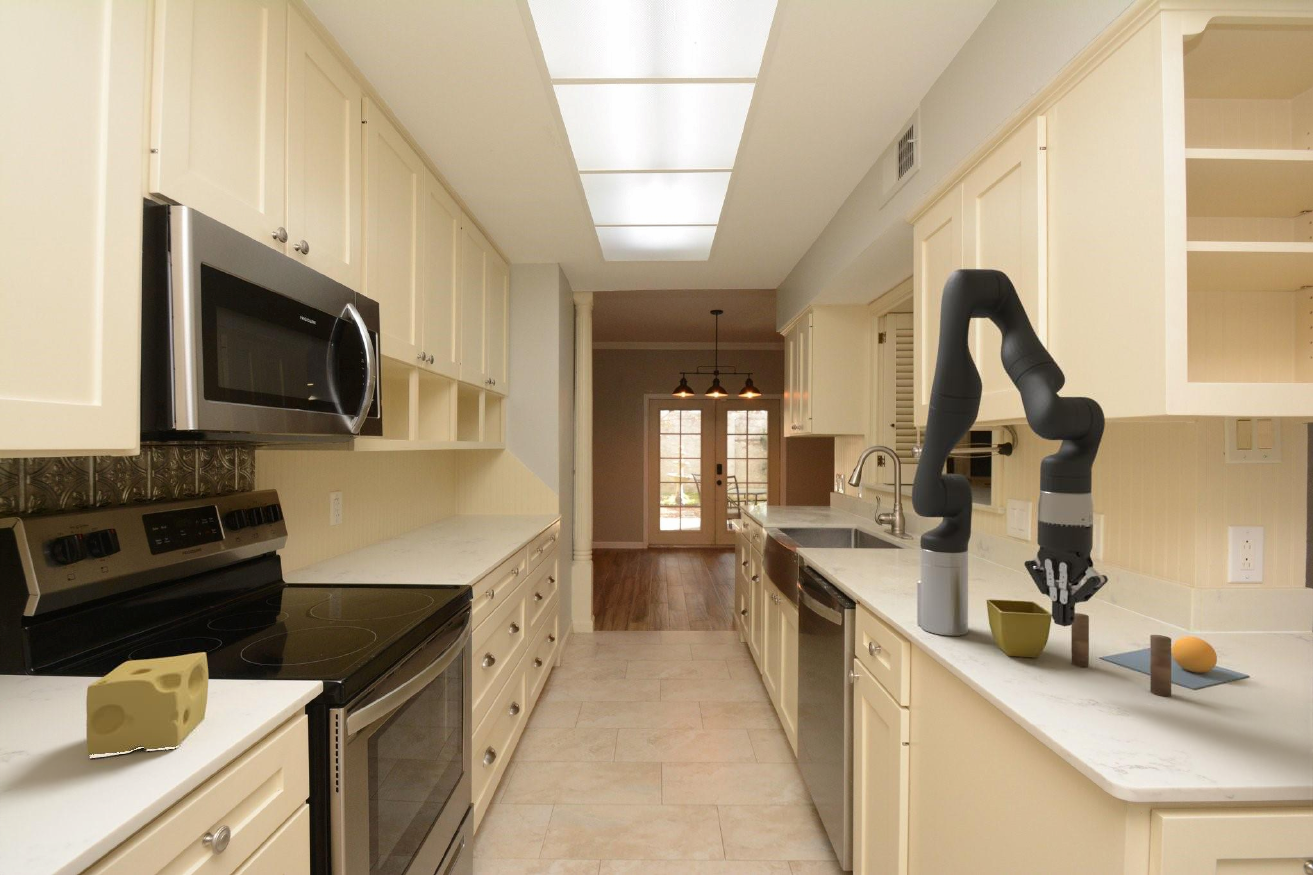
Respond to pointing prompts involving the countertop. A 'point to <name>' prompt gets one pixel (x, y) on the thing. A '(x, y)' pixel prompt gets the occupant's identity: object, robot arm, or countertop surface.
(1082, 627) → the inner post
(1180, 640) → the ball
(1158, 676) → the outer post
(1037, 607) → the flower pot
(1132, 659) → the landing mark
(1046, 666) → the countertop surface
